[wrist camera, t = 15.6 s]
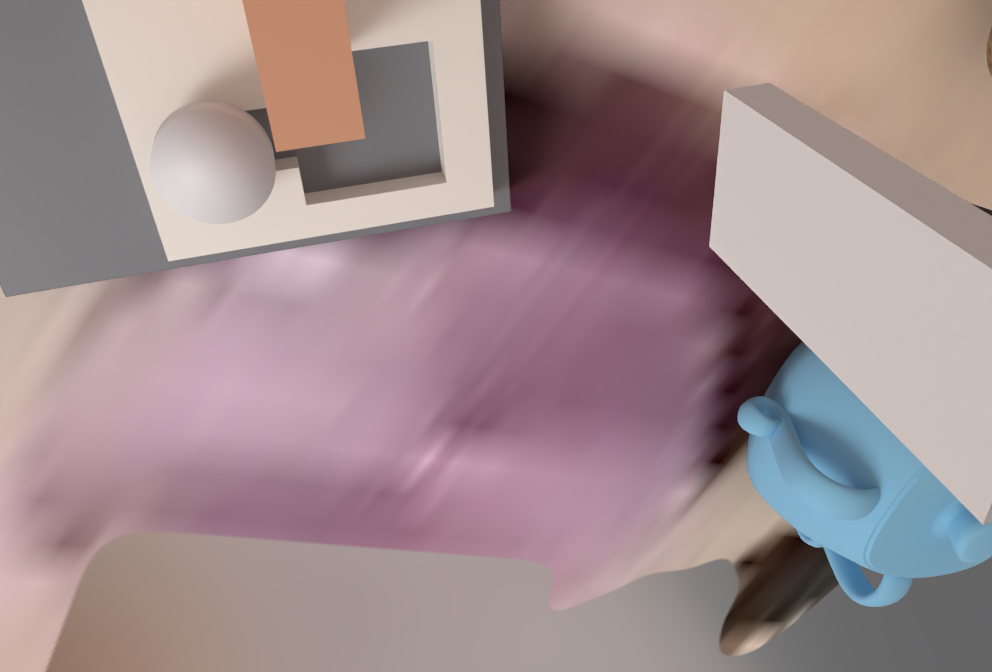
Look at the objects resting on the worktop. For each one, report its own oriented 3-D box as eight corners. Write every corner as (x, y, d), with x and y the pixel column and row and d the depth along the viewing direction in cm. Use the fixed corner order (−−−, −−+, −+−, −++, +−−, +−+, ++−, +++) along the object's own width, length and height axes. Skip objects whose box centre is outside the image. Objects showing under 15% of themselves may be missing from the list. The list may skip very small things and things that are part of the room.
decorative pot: (949, 234, 49) (1149, 367, 38) (960, 412, 59) (1123, 559, 48) (699, 356, 50) (827, 521, 39) (751, 513, 59) (865, 681, 48)
